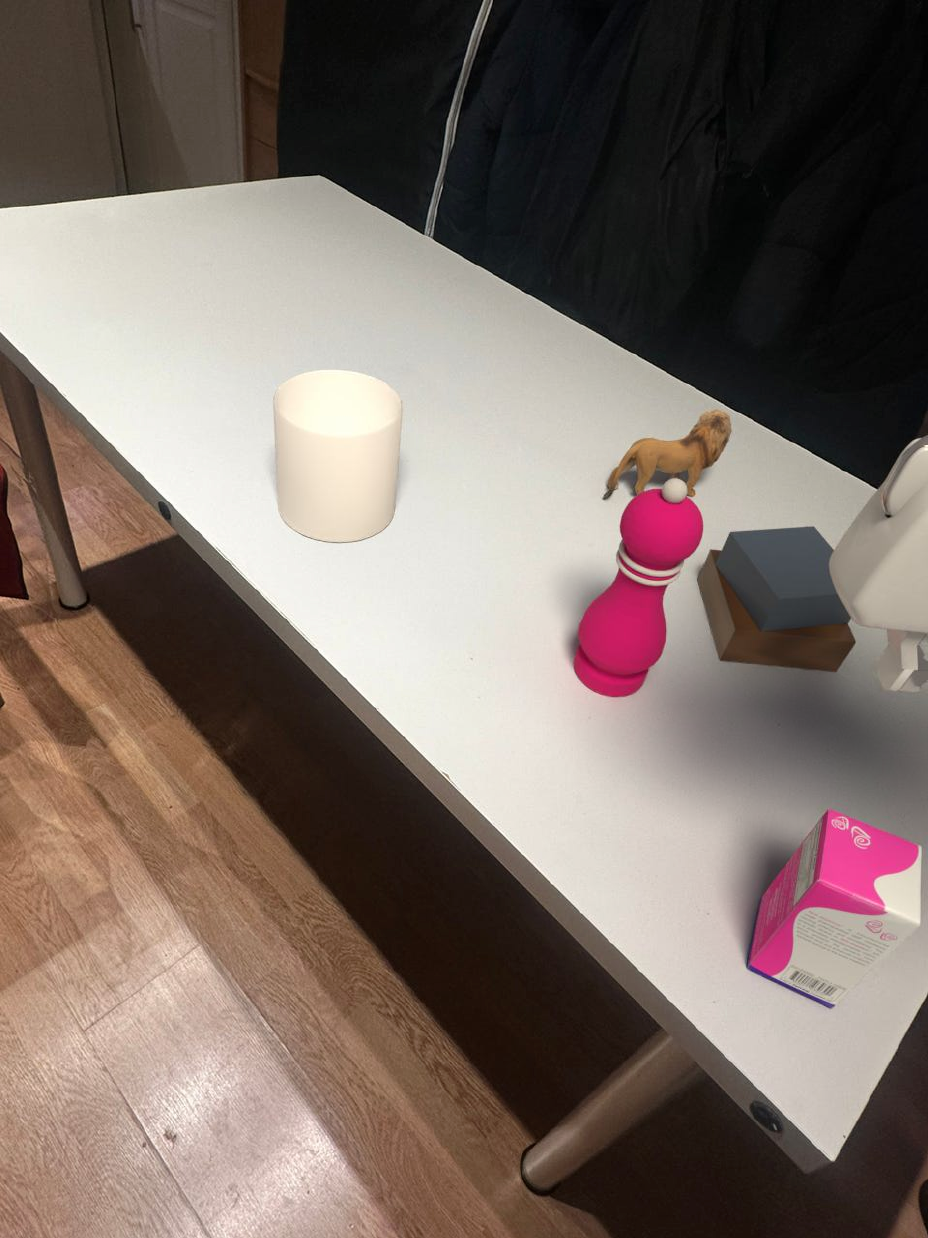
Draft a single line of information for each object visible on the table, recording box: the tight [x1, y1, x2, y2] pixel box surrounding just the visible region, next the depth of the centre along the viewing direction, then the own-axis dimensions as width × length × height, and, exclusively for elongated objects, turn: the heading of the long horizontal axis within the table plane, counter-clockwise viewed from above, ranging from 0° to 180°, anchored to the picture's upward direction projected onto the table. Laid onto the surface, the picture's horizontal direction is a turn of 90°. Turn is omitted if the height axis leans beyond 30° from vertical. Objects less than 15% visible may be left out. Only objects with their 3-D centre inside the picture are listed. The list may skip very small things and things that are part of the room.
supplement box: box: [747, 808, 923, 1010], centre depth 51 cm, size 6×6×12 cm
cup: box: [272, 369, 404, 543], centre depth 79 cm, size 12×12×12 cm
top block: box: [716, 525, 852, 632], centre depth 74 cm, size 9×9×4 cm
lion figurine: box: [603, 408, 733, 499], centre depth 89 cm, size 15×5×9 cm, turn 117°
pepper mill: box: [573, 478, 704, 698], centre depth 65 cm, size 7×7×20 cm
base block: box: [696, 549, 857, 673], centre depth 77 cm, size 11×11×4 cm
